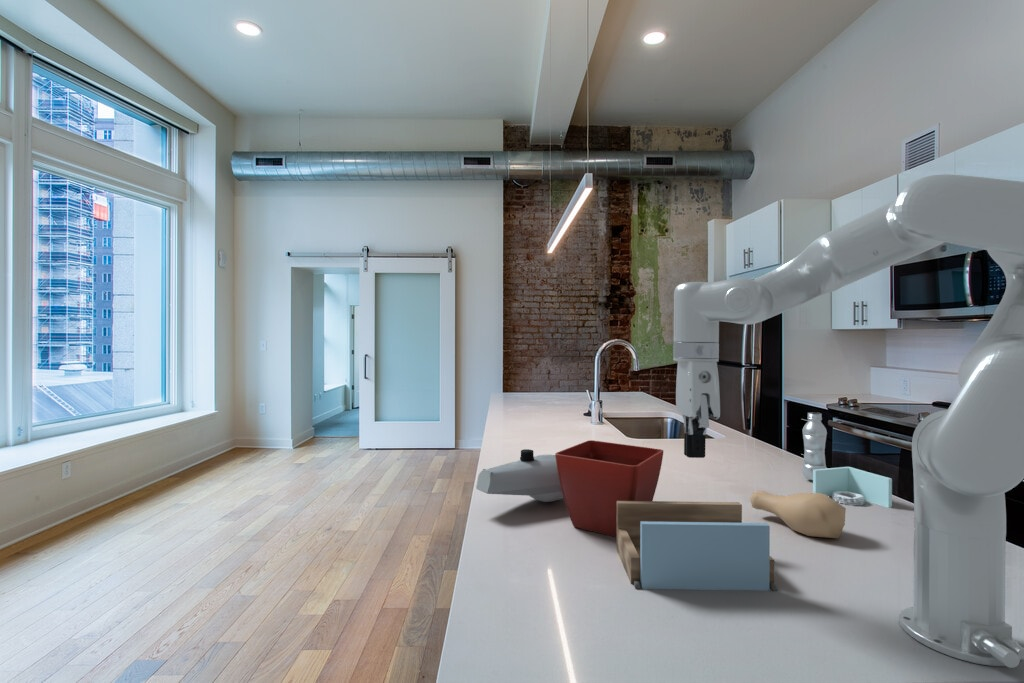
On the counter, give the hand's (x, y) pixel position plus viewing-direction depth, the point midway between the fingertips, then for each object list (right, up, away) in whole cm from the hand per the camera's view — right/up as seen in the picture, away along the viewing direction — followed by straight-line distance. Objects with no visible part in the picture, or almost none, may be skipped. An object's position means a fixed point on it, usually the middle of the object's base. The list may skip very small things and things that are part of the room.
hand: (694, 456), depth 89 cm
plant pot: (-10, -22, +25) cm, 35 cm away
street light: (-27, -22, +39) cm, 53 cm away
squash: (+31, -22, +23) cm, 44 cm away
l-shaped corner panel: (+56, -22, +41) cm, 73 cm away
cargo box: (0, -22, +4) cm, 22 cm away
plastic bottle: (+58, -21, +62) cm, 88 cm away
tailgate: (0, -21, -5) cm, 22 cm away
